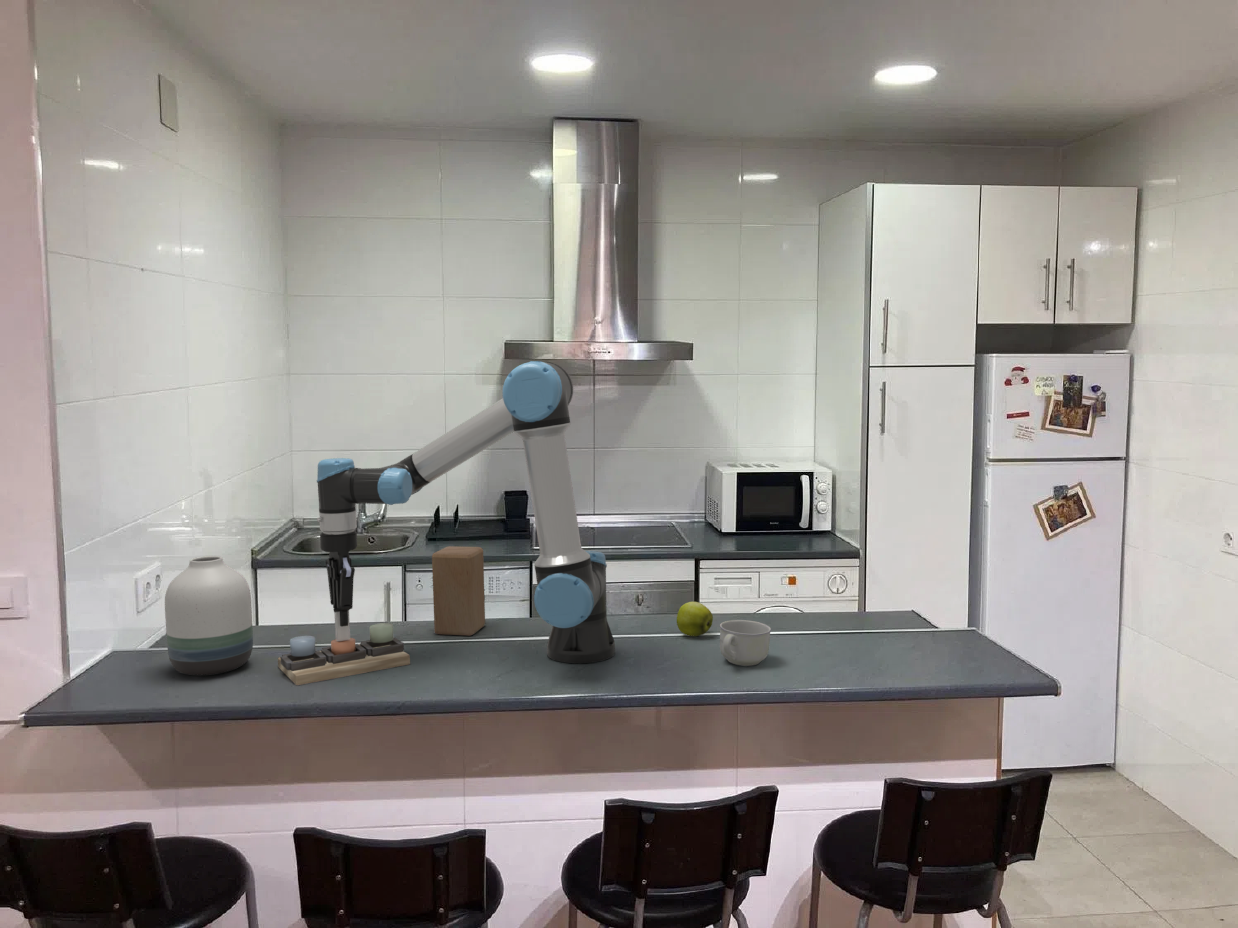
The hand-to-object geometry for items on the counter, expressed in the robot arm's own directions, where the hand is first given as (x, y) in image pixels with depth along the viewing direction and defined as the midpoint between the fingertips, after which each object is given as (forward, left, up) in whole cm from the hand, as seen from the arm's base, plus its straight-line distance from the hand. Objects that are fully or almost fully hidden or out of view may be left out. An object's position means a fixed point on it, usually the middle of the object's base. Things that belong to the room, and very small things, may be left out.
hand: (342, 639), depth 206 cm
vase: (+14, +24, -6) cm, 29 cm away
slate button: (0, +8, -1) cm, 9 cm away
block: (+11, -32, -6) cm, 35 cm away
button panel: (0, 0, -6) cm, 6 cm away
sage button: (0, -9, -1) cm, 9 cm away
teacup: (-49, -70, -6) cm, 85 cm away
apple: (-26, -75, -6) cm, 79 cm away
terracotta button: (0, 0, -3) cm, 3 cm away
